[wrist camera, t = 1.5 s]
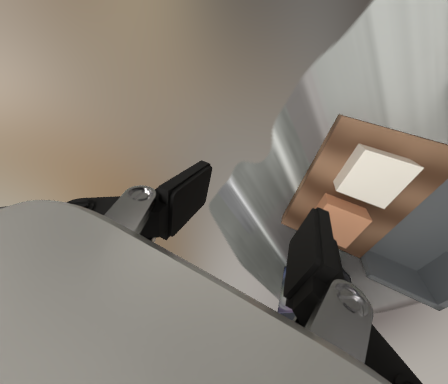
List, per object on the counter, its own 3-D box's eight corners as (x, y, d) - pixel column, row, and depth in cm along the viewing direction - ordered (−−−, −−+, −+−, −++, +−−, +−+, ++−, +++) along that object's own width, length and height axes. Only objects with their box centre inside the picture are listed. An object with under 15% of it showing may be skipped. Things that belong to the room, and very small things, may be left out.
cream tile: (358, 143, 21) (365, 149, 18) (410, 159, 20) (424, 168, 17) (333, 181, 24) (335, 190, 22) (376, 197, 23) (384, 209, 20)
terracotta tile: (325, 192, 25) (327, 203, 23) (365, 208, 24) (372, 221, 21) (307, 220, 28) (307, 231, 26) (342, 235, 27) (345, 248, 24)
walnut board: (338, 114, 22) (341, 116, 20) (458, 147, 19) (475, 153, 17) (282, 215, 32) (281, 223, 30) (356, 247, 29) (360, 258, 27)
